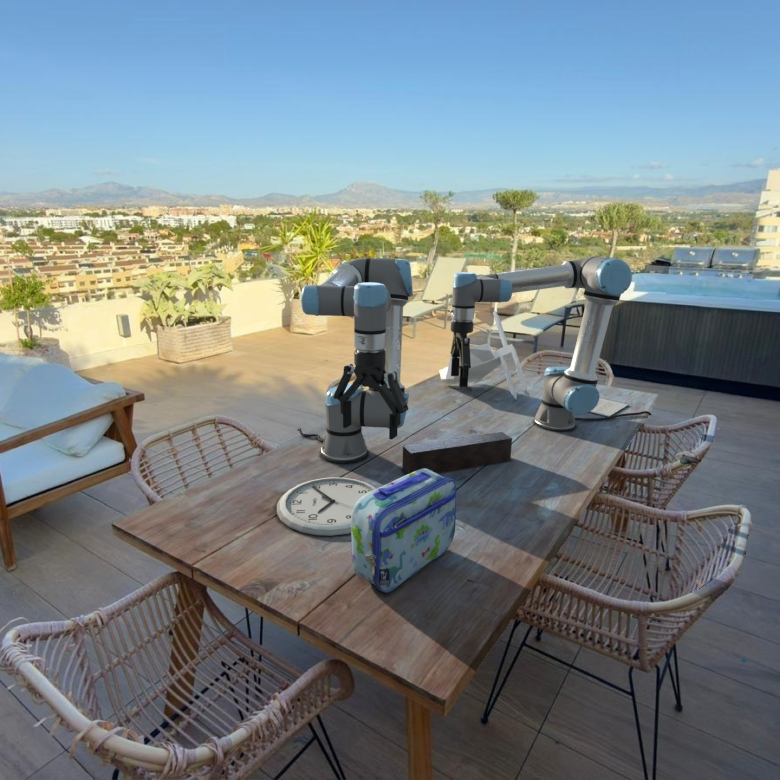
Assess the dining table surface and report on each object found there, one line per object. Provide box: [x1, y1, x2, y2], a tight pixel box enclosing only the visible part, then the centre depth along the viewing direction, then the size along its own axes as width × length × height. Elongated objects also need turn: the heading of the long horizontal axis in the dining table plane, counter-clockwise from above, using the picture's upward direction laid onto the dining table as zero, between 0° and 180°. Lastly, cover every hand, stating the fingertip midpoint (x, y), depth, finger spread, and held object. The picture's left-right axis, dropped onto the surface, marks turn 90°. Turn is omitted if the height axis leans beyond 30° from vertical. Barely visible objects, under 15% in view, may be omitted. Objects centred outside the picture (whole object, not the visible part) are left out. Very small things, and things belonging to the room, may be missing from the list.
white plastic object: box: [438, 310, 531, 400], centre depth 245 cm, size 37×45×31 cm
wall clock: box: [276, 476, 378, 537], centre depth 142 cm, size 30×2×30 cm
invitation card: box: [589, 397, 629, 417], centre depth 226 cm, size 21×1×15 cm
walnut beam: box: [401, 431, 513, 475], centre depth 167 cm, size 36×6×8 cm, turn 111°
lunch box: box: [350, 469, 457, 593], centre depth 114 cm, size 26×11×21 cm, turn 134°
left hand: (369, 431), depth 131 cm, fingers open, 13 cm apart
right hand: (458, 381), depth 180 cm, fingers open, 13 cm apart
